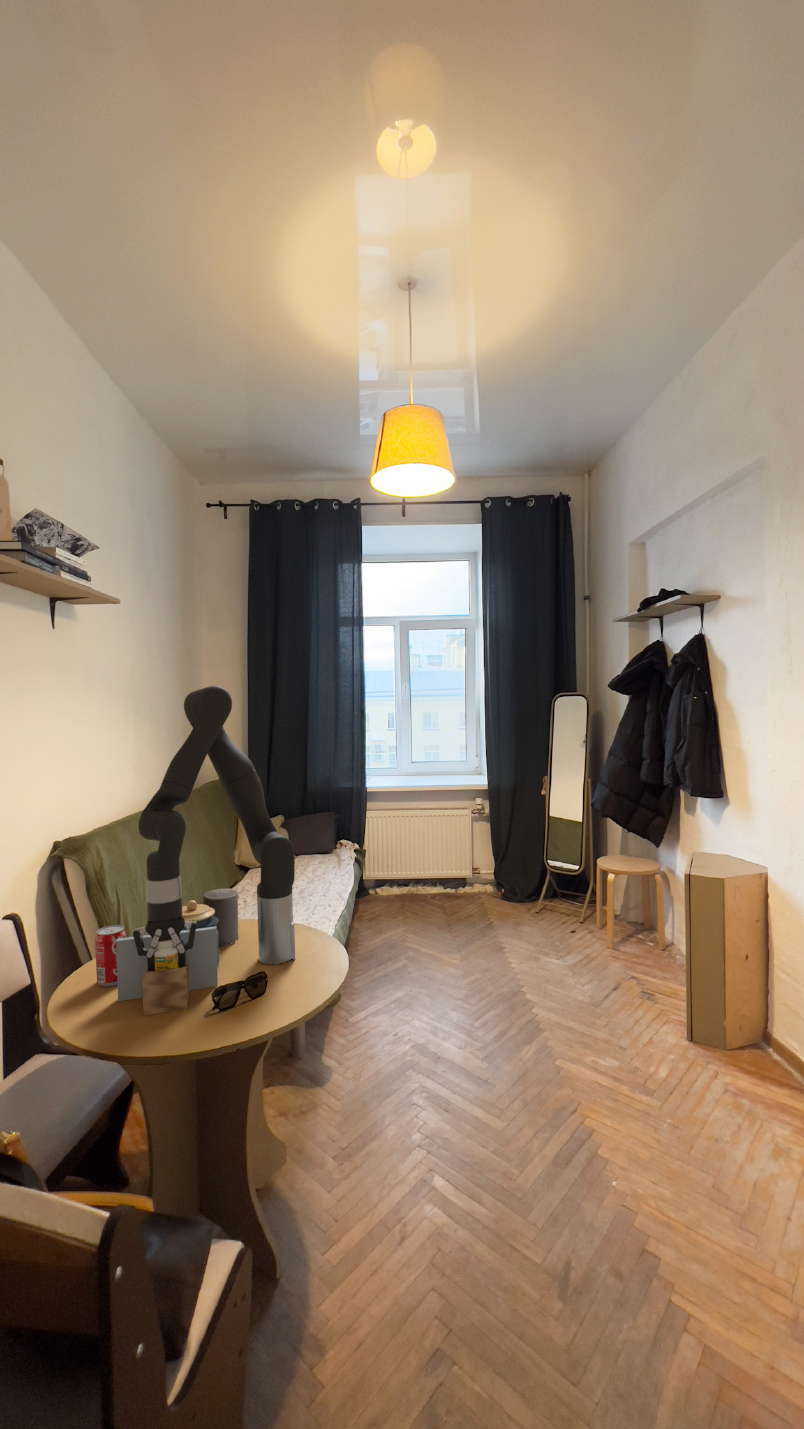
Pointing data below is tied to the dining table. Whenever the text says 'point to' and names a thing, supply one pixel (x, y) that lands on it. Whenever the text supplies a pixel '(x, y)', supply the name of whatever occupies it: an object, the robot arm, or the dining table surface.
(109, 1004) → the dining table surface
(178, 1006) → the cleat pocket
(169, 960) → the supplement bottle
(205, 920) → the canister
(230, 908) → the pillar candle
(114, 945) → the soda can
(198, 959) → the wall board
